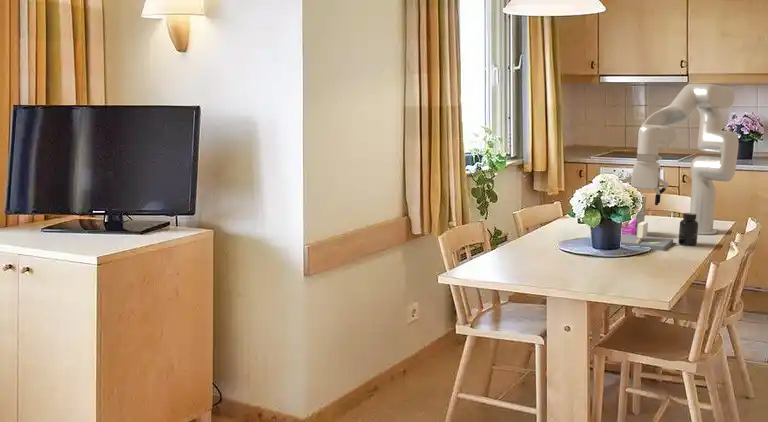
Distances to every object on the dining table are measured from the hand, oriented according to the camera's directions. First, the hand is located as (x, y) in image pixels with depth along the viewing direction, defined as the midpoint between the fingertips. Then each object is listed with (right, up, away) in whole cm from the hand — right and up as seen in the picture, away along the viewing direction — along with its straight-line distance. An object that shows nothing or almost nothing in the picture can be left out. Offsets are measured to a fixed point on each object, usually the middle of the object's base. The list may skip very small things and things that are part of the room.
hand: (643, 203), depth 341 cm
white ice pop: (-1, -14, 0) cm, 14 cm away
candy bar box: (0, -13, +22) cm, 25 cm away
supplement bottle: (+18, -16, +4) cm, 24 cm away
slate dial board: (0, -15, +3) cm, 16 cm away
